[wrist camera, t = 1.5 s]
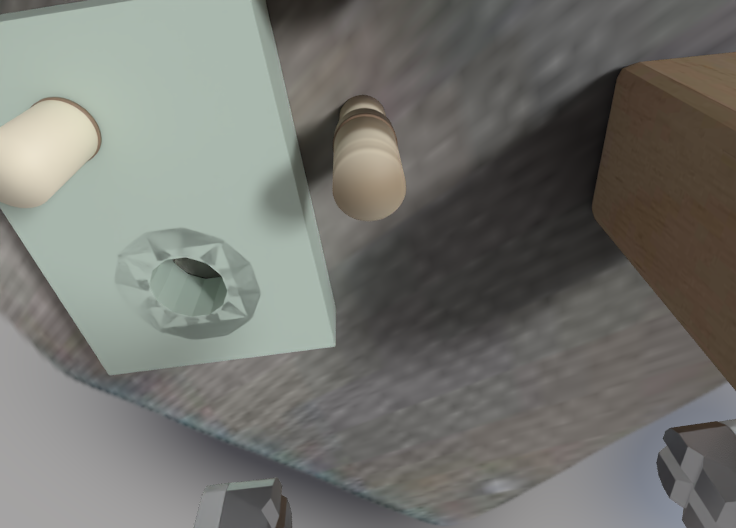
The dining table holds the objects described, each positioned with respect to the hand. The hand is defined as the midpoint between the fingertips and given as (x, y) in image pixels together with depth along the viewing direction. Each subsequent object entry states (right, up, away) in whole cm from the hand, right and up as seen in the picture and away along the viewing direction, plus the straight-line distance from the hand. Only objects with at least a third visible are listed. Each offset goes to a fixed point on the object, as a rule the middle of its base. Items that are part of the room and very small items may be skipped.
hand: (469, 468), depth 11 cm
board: (-14, +9, +21) cm, 26 cm away
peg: (-2, +13, +18) cm, 22 cm away
